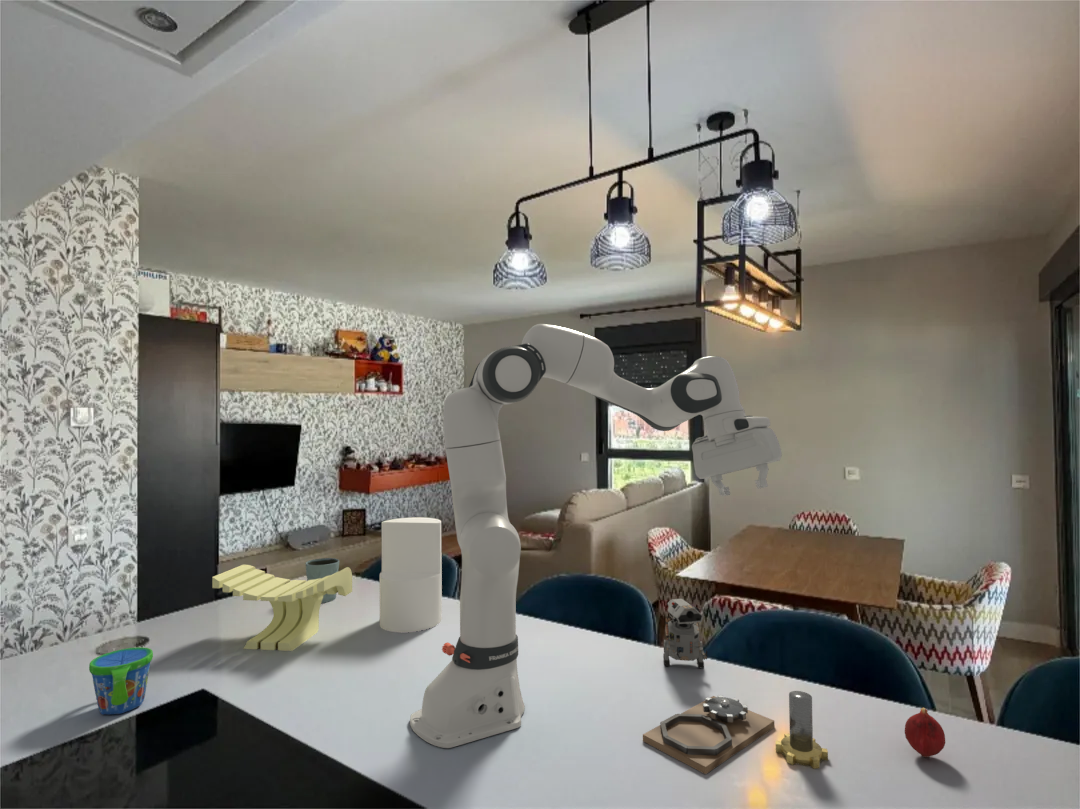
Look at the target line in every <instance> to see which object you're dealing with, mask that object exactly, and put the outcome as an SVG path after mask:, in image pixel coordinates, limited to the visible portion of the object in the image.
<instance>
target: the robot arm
mask: <svg viewBox="0 0 1080 809" xmlns="http://www.w3.org/2000/svg"><path fill="white" fill-rule="evenodd" d="M614 368H615V358H614V355H613V352H612V350H611V348H610V346H609V345H608V344H606V343H605V342H604V341H602V340H600V339H598V338H596V337H594V336H591V335H589V334H586V333H584V332H580V331H578V330H574V329H571V328H567V327H562V326H558V325H553V324H546V323H537V324H535V325H533V326H531V327H530V328H529V329H528V330H527V331H526V332H525V334H524V336H523V338H522V341H521V344H516V345H510V346H509V345H508V346H504V347H501V348H499V349H496V350H493V351H490V352H489V353H488V354H486V355H485V356H484V357H483V358H482V360H481V361H479V363H478V364H477V365H476V368H475V370H474V372H473V376H472V378H471V381H470V383H469V385H468V386H467V387H464V388H460V389H457V390H454V391H453V392H452V393H450V394H448V395H447V397H446V398H445V400H444V403H443V414H442V415H443V416H442V418H443V419H442V420H443V421H442V425H443V426H442V427H443V440H444V447H445V454H446V455H445V456H446V461H447V468H448V474H449V482H450V488H451V499H452V507H453V517H454V522H455V523H454V524H455V532H456V540H457V543H458V546H459V548H460V551H461V581H460V582H461V583H460V596H459V637H458V640H457V642H456V644H455V645H453V644H451V643H450V642H445V643H444V644H443V645H442V646H441V648H442V649H441V650H442V653H444V654H446V655H447V656H449V657H450V656H451V657H452V659H451V661H450V662H449V663H448V664H447V665H446V667H444V668H443V670H442V671H441V672H440V673H438V674H437V676H436V677H435V678H434V679H433V680H432V681H431V682H430V683H429V684H428V685H427V687H426V689H425V690H424V694H423V698H422V704H421V705H422V706H421V708H420V709H418V710H417V711H415V712H413V713H412V714H411V715H410V718H409V726H410V728H411V730H412V731H413V732H414V733H415V734H416V735H417V736H418V737H420V738H421V740H422V741H425V742H427V743H428V744H431V745H432V746H435V747H438V748H444V749H451V748H455V747H459V746H461V745H465V744H468V743H471V742H474V741H479V740H482V739H484V738H488V737H492V736H495V735H498V734H502V733H505V732H508V731H511V730H515V729H518V728H520V727H521V726H522V720H521V718H522V716H523V714H524V713H525V709H526V706H525V702H524V699H523V695H522V691H521V687H520V681H519V680H520V678H519V674H518V673H519V672H518V660H517V659H518V656H519V637H518V635H517V634H516V633H517V620H516V619H517V618H516V617H517V616H516V615H517V614H516V613H517V611H516V609H517V608H516V604H517V603H516V601H517V599H516V598H517V588H518V582H519V570H520V560H521V559H520V558H521V553H522V552H521V550H522V548H521V547H522V545H521V539H520V535H519V533H518V531H517V529H516V528H515V527H514V525H513V524H511V522H510V518H509V514H508V502H507V475H506V470H505V461H504V460H505V459H504V455H503V448H502V447H503V446H502V441H501V435H500V428H499V415H500V414H499V413H500V411H501V409H502V408H503V406H504V405H511V404H515V403H517V402H520V401H523V400H525V399H527V398H528V397H529V396H530V395H531V394H532V393H533V391H534V390H535V389H536V387H537V385H538V384H539V382H540V381H541V379H542V378H545V379H551V380H554V381H557V382H559V383H563V384H566V385H567V386H571V387H574V388H576V389H579V390H582V391H584V392H587V393H589V394H590V395H592V396H594V397H596V398H597V399H599V400H601V401H604V402H606V403H608V404H611V405H613V406H615V407H618V408H620V409H622V410H625V411H627V412H630V413H632V414H634V415H636V416H637V417H639V418H640V420H642V421H643V422H645V423H646V424H647V425H648V426H649V427H651V428H653V429H654V430H657V431H660V432H661V431H662V432H668V431H672V430H674V429H675V428H677V427H679V426H680V425H682V424H683V423H684V422H687V421H689V420H691V419H693V418H694V417H697V416H699V415H700V416H702V419H703V423H704V427H705V431H706V435H703V436H702V437H696V439H695V440H694V441H693V443H692V445H691V450H692V456H693V457H692V458H693V466H694V471H695V476H696V477H697V478H698V479H699V480H703V479H710V480H711V482H712V484H713V485H714V486H715V488H717V489H718V493H719V496H720V497H726V496H729V495H731V492H730V487H729V486H726V485H724V482H722V481H723V480H724V479H723V475H726V474H727V475H728V474H730V473H734V472H737V471H742V470H746V469H747V470H748V469H751V468H755V469H756V472H758V479H755V480H754V482H755V484H756V485H755V486H756V489H764V488H767V487H768V486H769V485H768V481H767V477H768V474H769V465H768V464H771V463H775V462H780V460H781V458H782V455H783V451H782V448H781V445H780V443H779V439H778V436H777V435H776V432H775V431H774V429H772V428H770V426H771V419H770V417H767V416H753V415H747V414H746V412H745V408H744V406H743V405H742V403H741V399H740V393H741V392H740V389H739V385H738V382H737V378H736V376H735V372H734V370H733V367H732V366H731V364H730V363H729V361H728V360H727V359H726V358H724V357H722V356H717V355H709V356H704V357H700V358H698V359H696V360H695V361H694V362H693V364H691V366H689V367H688V368H687V369H686V370H684V371H682V372H681V373H679V374H677V375H674V376H673V377H671V378H670V379H669V380H667V381H666V382H664V383H662V384H661V385H659V386H657V387H651V388H646V387H643V386H640V385H638V384H637V383H634V382H632V381H631V380H630V381H629V380H627V379H626V378H623V377H620V376H619V375H618V374H617V373H616V372H615V369H614Z"/></svg>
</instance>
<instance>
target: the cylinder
mask: <svg viewBox="0 0 1080 809" xmlns="http://www.w3.org/2000/svg"><path fill="white" fill-rule="evenodd" d="M442 557H443V556H442V520H441V519H438V518H434V517H425V516H424V517H423V516H421V517H417V516H416V517H415V516H414V517H399V518H393V519H387V520H384V521H381V571H380V573H379V627H380V628H381V629H382V630H384V631H387V632H392V633H400V634H401V633H402V634H404V633H408V632H409V633H416V631H418V632H422V631H421V630H423V631H427V630H430V629H433V628H435V627H437V626H438V625H439V623H440V622H441V623H442V621H441V620H443V615H442V614H443V610H442V609H443V608H442V607H443V605H442V604H443V600H442V598H443V594H442V593H443V591H442V589H443V585H442V581H443V580H442V579H443V578H442V574H443V573H442V572H443V571H442V569H443V568H442V564H443V562H442V560H443V559H442ZM441 623H440V624H441ZM437 624H438V625H437ZM436 625H437V626H436ZM434 626H435V627H434ZM432 627H433V628H432ZM429 628H430V629H429ZM426 629H427V630H426Z"/></svg>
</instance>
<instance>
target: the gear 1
mask: <svg viewBox="0 0 1080 809" xmlns="http://www.w3.org/2000/svg"><path fill="white" fill-rule="evenodd" d="M704 701H705V704H703V711H704V712H709V714H711V718H713V719H715V720H716V719H718V720H720V721H723V722H733V720H738V719H741V720H745V719H746V713H748V710H749V708H748V706H747V704H742V703H741V702H740V699H738V698H736V697H734V698H730V697H724V695H721V694H720V695H719V694H718V695H717V696H715V698H710V697H709V696H708V697H706V698H705V699H704Z"/></svg>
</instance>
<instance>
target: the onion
mask: <svg viewBox="0 0 1080 809" xmlns="http://www.w3.org/2000/svg"><path fill="white" fill-rule="evenodd" d="M904 734H905V735H904V736H905V739H906V741H907V742H908V744H909V746H910V747H911V748H912V749H913V750H914V751H915V752H917V753H918V754H919V755H921V756H922V757H924V758H930V757H933V756H936V755H938V754H939V753H941V751H942V750H943V749H944V748H945V746H946V745H945V744H946V735H945V731H944V729H943V727H942V725H941V724H940V723H939V722H938V721H937V719H935V718H934V717H933V716H932V715H930V714H929V713H928V709H927V708H925V707H922V708H920V711H919V712H918V713H916V714H913V715H911V716H910V717H909V718H907V720H906V722H905V725H904Z"/></svg>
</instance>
